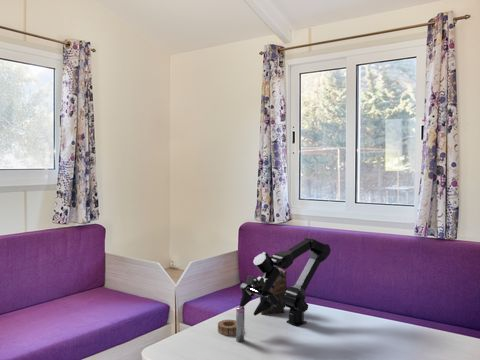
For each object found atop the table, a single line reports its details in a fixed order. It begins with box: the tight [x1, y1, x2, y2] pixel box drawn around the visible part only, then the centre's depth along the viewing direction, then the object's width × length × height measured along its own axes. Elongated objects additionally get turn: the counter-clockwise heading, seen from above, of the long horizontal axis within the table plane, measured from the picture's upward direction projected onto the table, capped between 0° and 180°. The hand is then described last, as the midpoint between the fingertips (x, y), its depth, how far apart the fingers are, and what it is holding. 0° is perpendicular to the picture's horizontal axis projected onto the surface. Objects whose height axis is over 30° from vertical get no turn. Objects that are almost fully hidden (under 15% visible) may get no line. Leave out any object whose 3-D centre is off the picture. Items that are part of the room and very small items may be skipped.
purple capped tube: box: [235, 305, 245, 343], centre depth 166 cm, size 3×3×13 cm
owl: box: [259, 267, 288, 316], centre depth 200 cm, size 13×13×20 cm
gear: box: [217, 319, 236, 336], centre depth 175 cm, size 9×9×3 cm
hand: (246, 311), depth 167 cm, fingers open, 9 cm apart
